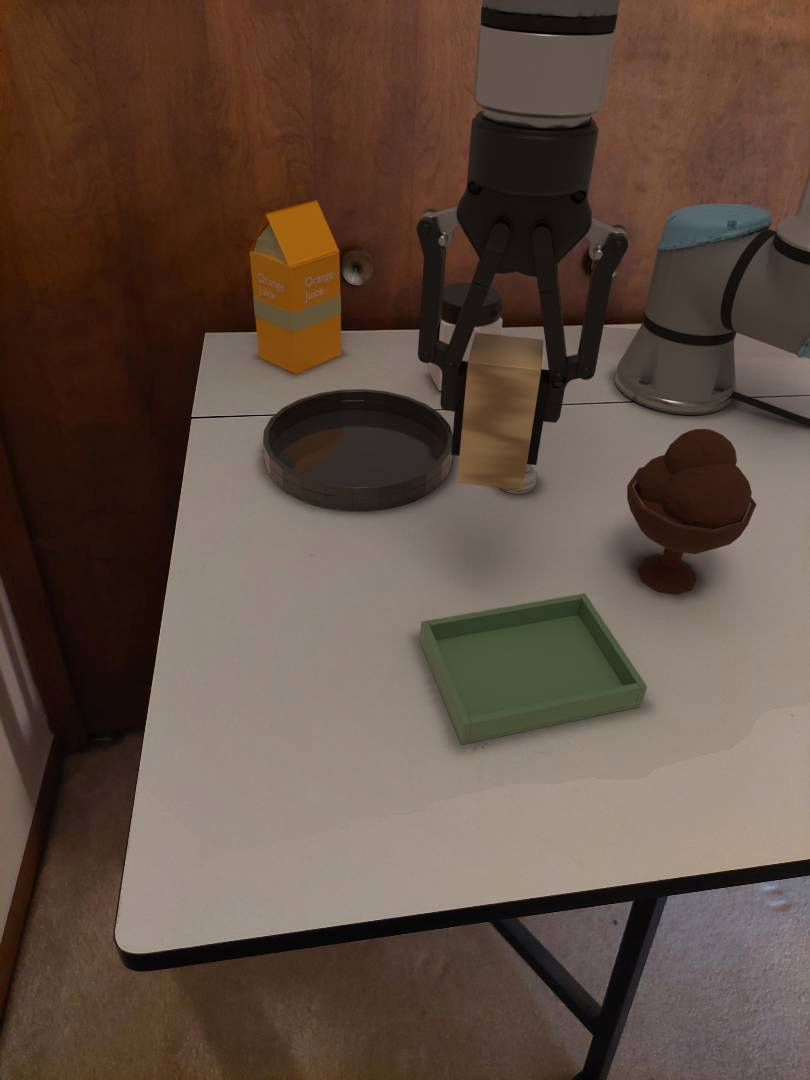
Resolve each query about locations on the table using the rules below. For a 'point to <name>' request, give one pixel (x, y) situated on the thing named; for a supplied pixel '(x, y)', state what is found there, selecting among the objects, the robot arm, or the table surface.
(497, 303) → the jar
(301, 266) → the orange juice
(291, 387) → the table surface
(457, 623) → the tray
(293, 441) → the pan
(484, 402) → the block
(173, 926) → the table surface
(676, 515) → the ice cream bowl
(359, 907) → the table surface
